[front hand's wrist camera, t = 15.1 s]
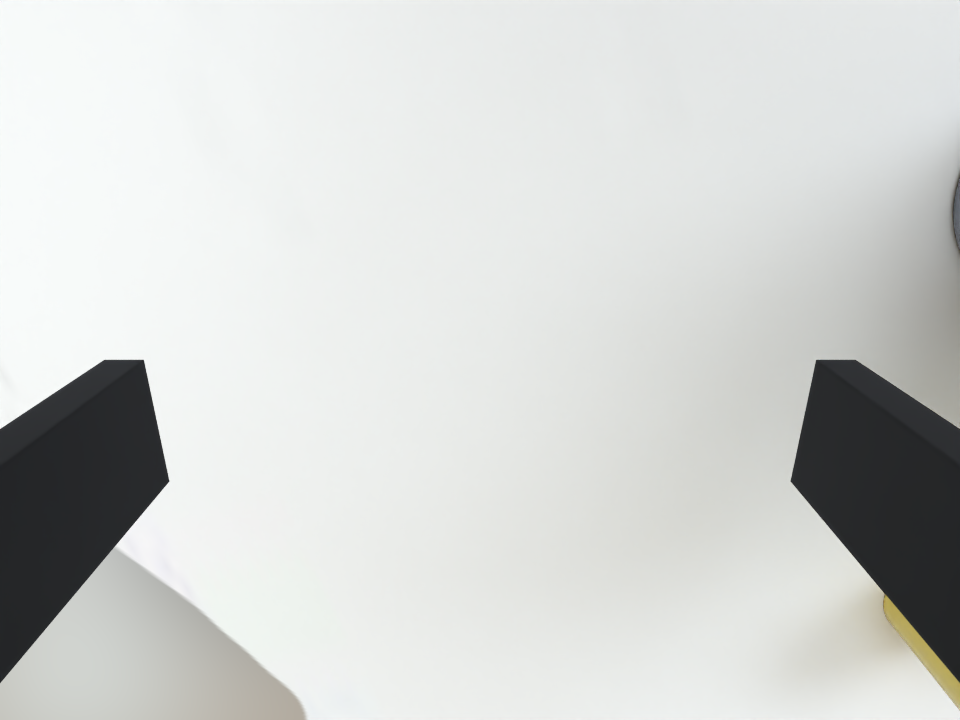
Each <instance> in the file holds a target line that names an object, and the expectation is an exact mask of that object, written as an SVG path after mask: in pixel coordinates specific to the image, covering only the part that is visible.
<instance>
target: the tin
mask: <svg viewBox="0 0 960 720" xmlns="http://www.w3.org/2000/svg"><path fill="white" fill-rule="evenodd" d="M884 612H885V615H886V618H887V619H888V621H889V622H890V623H891V625H892V626H893V627H894V628H895V630H896V631H897V632H898V633H899V635H900V636H901V637H902V638H903V640H904V641H905V642H906V644H907V645H908V646H909V647H910V649H911V650H912V651H913V652H914V654H915V655H916V656H917V657H918V659H919V660H920V661H921V662H922V664H923V665H924V666H925V667H926V669H927V670H928V671H929V672H930V674H931V675H932V676H933V677H934V679H935V680H936V681H937V683H938V684H939V685H940V686H941V688H942V689H943V690H944V691H945V693H946V694H947V695H948V696H949V698H950V699H951V700H952V701H953V703H954V704H955V705H956V706H957V708H958V709H959V710H960V683H959V681H958V680H957V679H956V678H955V677H954V676H953V674H952V673H951V672H950V671H949V670H948V668H947V667H946V666H945V665H944V664H943V662H942V661H941V660H940V659H939V658H938V656H937V655H936V654H935V653H934V652H933V650H932V649H931V648H930V647H929V646H928V645H927V643H926V642H925V641H924V640H923V639H922V637H921V636H920V635H919V634H918V633H917V631H916V630H915V629H914V628H913V627H912V625H911V624H910V623H909V622H908V621H907V619H906V618H905V617H904V616H903V615H902V614H901V612H900V611H899V610H898V609H897V608H896V606H895V605H894V604H893V603H892V602H891V600H890V599H889V598H888V597H887V596H886V594H885V598H884Z"/></svg>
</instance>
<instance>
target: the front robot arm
mask: <svg viewBox="0 0 960 720" xmlns="http://www.w3.org/2000/svg"><path fill="white" fill-rule="evenodd" d="M954 229H955V236H956V239H957V243H958V246H959V249H960V179H959V183H958V186H957V190H956V196H955V202H954ZM168 482H169V478H168V473H167V468H166V463H165V459H164V454H163V449H162V444H161V440H160V435H159V430H158V425H157V421H156V416H155V411H154V406H153V402H152V397H151V392H150V387H149V383H148V378H147V373H146V368H145V364H144V360H104V361H102V362H101V363H99V364H98V365H96V366H95V367H93V368H92V369H90V370H89V371H87V372H86V373H84V374H83V375H81V376H80V377H78V378H77V379H75V380H73V381H72V382H70V383H69V384H67V385H66V386H64V387H63V388H61V389H60V390H58V391H57V392H55V393H54V394H52V395H51V396H49V397H48V398H46V399H45V400H43V401H42V402H40V403H39V404H37V405H36V406H34V407H33V408H31V409H30V410H28V411H27V412H25V413H24V414H22V415H21V416H19V417H18V418H16V419H15V420H13V421H12V422H10V423H9V424H7V425H6V426H4V427H3V428H1V429H0V683H1V681H2V680H3V679H4V678H5V677H6V675H7V674H8V673H9V672H10V671H11V670H12V668H13V667H14V666H15V665H16V664H17V662H18V661H19V660H20V659H21V658H22V656H23V655H24V654H25V653H26V652H27V650H28V649H29V648H30V647H31V646H32V644H33V643H34V642H35V641H36V640H37V638H38V637H39V636H40V635H41V634H42V633H43V631H44V630H45V629H46V628H47V627H48V625H49V624H50V623H51V622H52V621H53V619H54V618H55V617H56V616H57V615H58V613H59V612H60V611H61V610H62V609H63V607H64V606H65V605H66V604H67V603H68V602H69V600H70V599H71V598H72V597H73V596H74V594H75V593H76V592H77V591H78V590H79V588H80V587H81V586H82V585H83V584H84V582H85V581H86V580H87V579H88V578H89V577H90V575H91V574H92V573H93V572H94V571H95V569H96V568H97V567H98V566H99V565H100V563H101V562H102V561H103V560H104V559H105V557H106V556H107V555H108V554H109V553H110V551H111V550H112V549H113V548H114V547H115V546H116V544H117V543H118V542H119V541H120V540H121V538H122V537H123V536H124V535H125V534H126V532H127V531H128V530H129V529H130V528H131V526H132V525H133V524H134V523H135V522H136V520H137V519H138V518H139V517H140V516H141V514H142V513H143V512H144V511H145V510H146V509H147V507H148V506H149V505H150V504H151V503H152V501H153V500H154V499H155V498H156V497H157V495H158V494H159V493H160V492H161V491H162V489H163V488H164V487H165V486H166V485H167V483H168ZM791 482H792V483H793V485H794V486H795V487H796V488H797V489H798V491H799V492H800V493H801V494H802V495H803V497H804V498H805V499H806V500H807V501H808V503H809V504H810V505H811V506H812V507H813V509H814V510H815V511H816V512H817V513H818V514H819V516H820V517H821V518H822V519H823V520H824V522H825V523H826V524H827V525H828V526H829V528H830V529H831V530H832V531H833V532H834V534H835V535H836V536H837V537H838V538H839V540H840V541H841V542H842V543H843V544H844V546H845V547H846V548H847V549H848V550H849V551H850V553H851V554H852V555H853V556H854V557H855V559H856V560H857V561H858V562H859V563H860V565H861V566H862V567H863V568H864V569H865V571H866V572H867V573H868V574H869V575H870V577H871V578H872V579H873V580H874V581H875V582H876V584H877V585H878V586H879V587H880V588H881V590H882V591H883V592H884V593H885V594H886V596H887V597H888V598H889V599H890V600H891V602H892V603H893V604H894V605H895V606H896V608H897V609H898V610H899V611H900V612H901V614H902V615H903V616H904V617H905V618H906V619H907V621H908V622H909V623H910V624H911V625H912V627H913V628H914V629H915V630H916V631H917V633H918V634H919V635H920V636H921V637H922V639H923V640H924V641H925V642H926V643H927V645H928V646H929V647H930V648H931V649H932V650H933V652H934V653H935V654H936V655H937V656H938V658H939V659H940V660H941V661H942V662H943V664H944V665H945V666H946V667H947V668H948V670H949V671H950V672H951V673H952V674H953V676H954V677H955V678H956V679H957V680H958V681H959V683H960V429H959V428H957V427H956V426H954V425H953V424H951V423H950V422H948V421H947V420H945V419H944V418H942V417H941V416H939V415H938V414H936V413H935V412H933V411H932V410H930V409H929V408H927V407H926V406H924V405H923V404H921V403H920V402H918V401H917V400H915V399H914V398H912V397H911V396H909V395H908V394H906V393H905V392H903V391H902V390H900V389H899V388H897V387H896V386H894V385H893V384H891V383H890V382H888V381H887V380H885V379H883V378H882V377H880V376H879V375H877V374H876V373H874V372H873V371H871V370H870V369H868V368H867V367H865V366H864V365H862V364H861V363H859V362H858V361H856V360H816V364H815V368H814V373H813V378H812V383H811V387H810V392H809V397H808V402H807V406H806V411H805V416H804V421H803V425H802V430H801V435H800V440H799V444H798V449H797V454H796V459H795V463H794V468H793V473H792V478H791Z"/></svg>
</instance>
